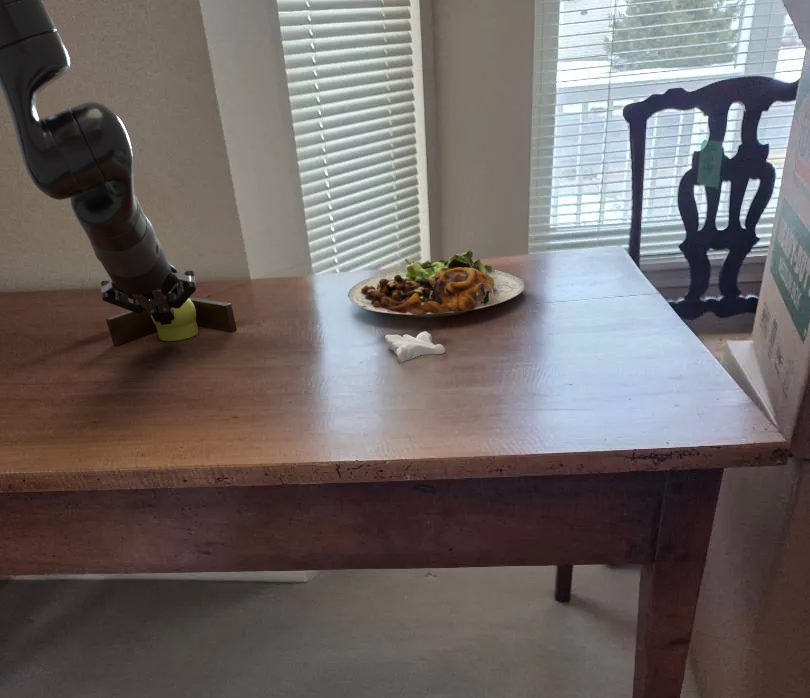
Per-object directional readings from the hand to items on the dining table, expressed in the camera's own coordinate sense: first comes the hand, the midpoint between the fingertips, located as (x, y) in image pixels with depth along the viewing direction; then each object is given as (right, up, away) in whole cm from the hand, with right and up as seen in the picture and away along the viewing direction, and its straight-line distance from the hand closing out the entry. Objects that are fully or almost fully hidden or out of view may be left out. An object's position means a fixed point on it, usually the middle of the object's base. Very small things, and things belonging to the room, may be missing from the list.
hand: (165, 318), depth 106 cm
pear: (0, -1, +6) cm, 6 cm away
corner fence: (0, -1, +5) cm, 5 cm away
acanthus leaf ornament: (+36, -7, -8) cm, 38 cm away
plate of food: (+40, +6, +10) cm, 42 cm away
